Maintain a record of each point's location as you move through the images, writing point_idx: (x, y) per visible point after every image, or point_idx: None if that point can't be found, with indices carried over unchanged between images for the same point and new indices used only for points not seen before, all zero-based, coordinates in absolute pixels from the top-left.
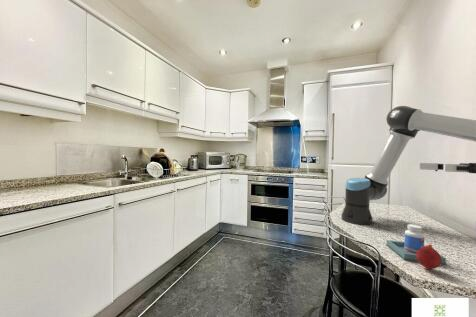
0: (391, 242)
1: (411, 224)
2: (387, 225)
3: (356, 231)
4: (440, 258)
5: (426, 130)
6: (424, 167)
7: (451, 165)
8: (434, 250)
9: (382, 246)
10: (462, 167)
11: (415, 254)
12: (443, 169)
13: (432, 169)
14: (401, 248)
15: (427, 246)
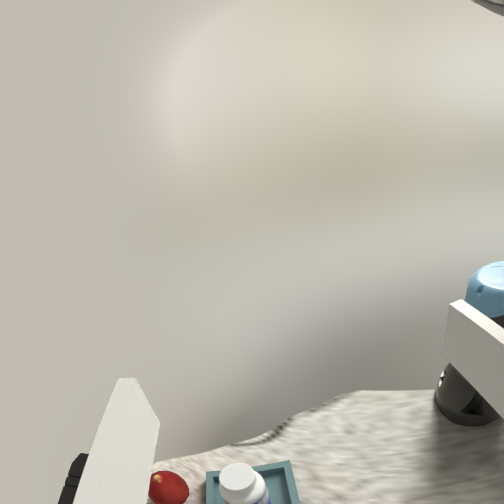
0: (275, 466)
1: (253, 474)
2: (494, 455)
3: (366, 413)
4: (149, 496)
5: None
6: (467, 359)
7: (110, 420)
8: (150, 484)
9: (278, 458)
10: (75, 477)
11: (209, 491)
12: (153, 412)
13: (500, 411)
14: (271, 488)
15: (155, 474)
